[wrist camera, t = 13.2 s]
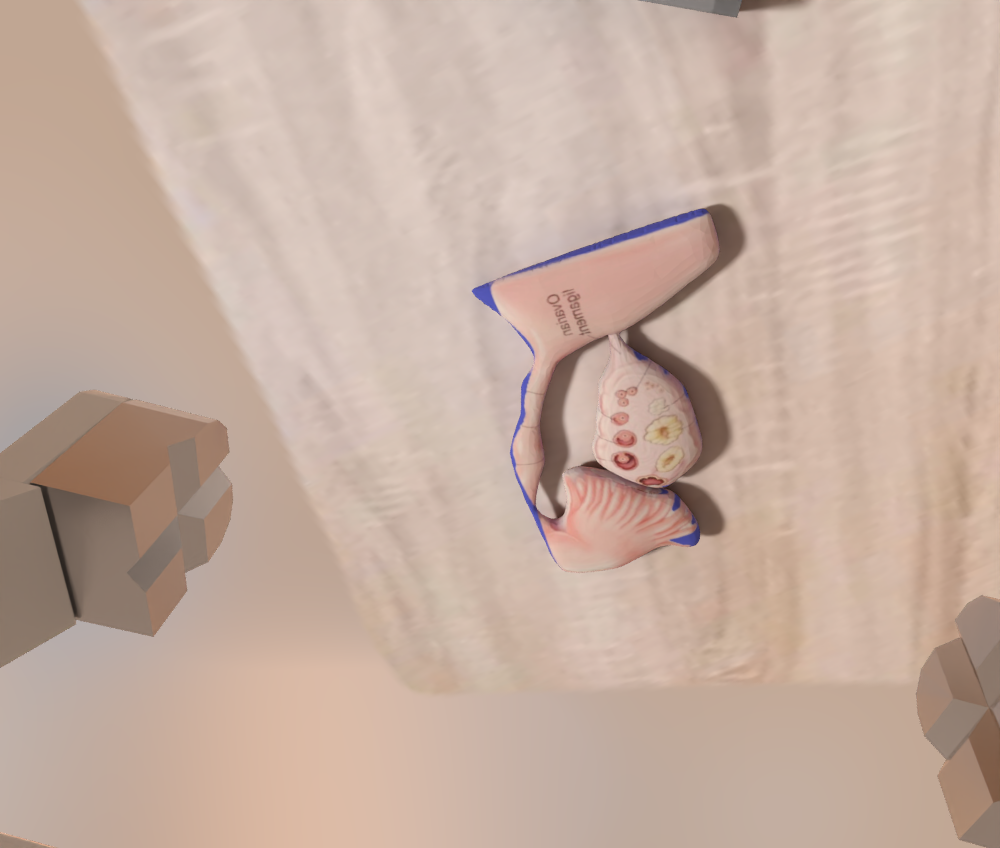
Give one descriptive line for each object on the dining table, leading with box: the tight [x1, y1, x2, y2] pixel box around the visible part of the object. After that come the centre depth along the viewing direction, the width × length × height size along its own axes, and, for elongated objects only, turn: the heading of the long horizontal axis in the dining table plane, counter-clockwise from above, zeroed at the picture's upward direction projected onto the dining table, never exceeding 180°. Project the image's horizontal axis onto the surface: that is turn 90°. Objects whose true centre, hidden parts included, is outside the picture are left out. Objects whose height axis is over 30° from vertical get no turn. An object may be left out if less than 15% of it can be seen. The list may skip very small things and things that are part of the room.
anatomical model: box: [472, 209, 720, 573], centre depth 42 cm, size 20×3×15 cm
